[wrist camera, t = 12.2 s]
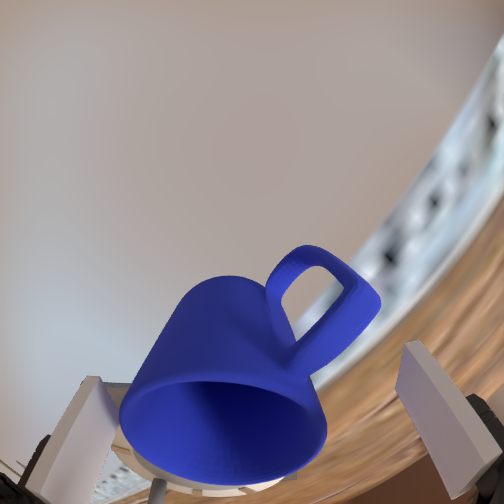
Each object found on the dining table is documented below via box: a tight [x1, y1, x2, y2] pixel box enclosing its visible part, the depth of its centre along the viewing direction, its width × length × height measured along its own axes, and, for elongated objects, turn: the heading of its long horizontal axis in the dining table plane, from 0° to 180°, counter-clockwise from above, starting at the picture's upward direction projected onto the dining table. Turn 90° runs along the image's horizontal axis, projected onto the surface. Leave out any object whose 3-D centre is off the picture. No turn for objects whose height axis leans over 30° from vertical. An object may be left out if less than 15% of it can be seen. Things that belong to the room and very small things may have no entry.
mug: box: [119, 245, 381, 486], centre depth 14 cm, size 8×12×10 cm
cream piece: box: [111, 424, 284, 504], centre depth 19 cm, size 17×17×8 cm
